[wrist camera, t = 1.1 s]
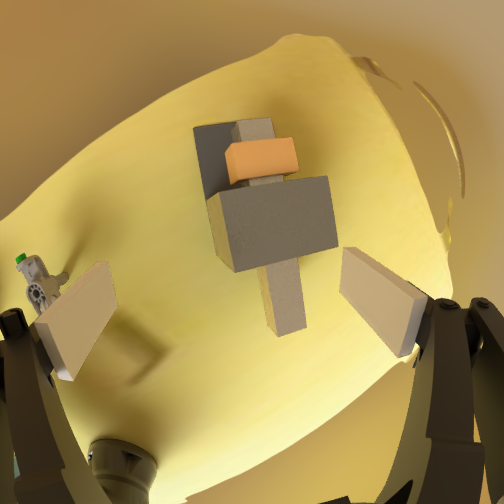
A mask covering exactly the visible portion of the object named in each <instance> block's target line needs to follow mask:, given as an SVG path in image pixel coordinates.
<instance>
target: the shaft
mask: <svg viewBox="0 0 504 504" xmlns="http://www.w3.org/2000/svg"><path fill="white" fill-rule="evenodd" d="M231 134H232V140H233V143H238V142H246V141H255V140H264V139H275V134H274V130H273V125H272V121H271V118H260V119H248V120H238V121H237V122H236V124H235V125H234V127H233V128H232V130H231ZM282 181H284V179H283V174H282V175H275V176H268V177H261V178H255V179H248V180H245V181H243V182H242V183H241V187H242V188H244V187H250V186H256V185H262V184H269V183H275V182H282ZM257 271H258V277H259V282H260V287H261V293H262V298H263V303H264V309H265V314H266V319H267V325H268V327H269V328H270V329H271V330H272V331H273V332H274V333H275V335H276V336H277V337H280V336H283V335H286V334H289V333H292V332H295V331H298V330H301V329H304V328H307V325H306V317H305V309H304V302H303V294H302V287H301V280H300V273H299V267H298V260H297V257H296V258H293V259H289V260H285V261H281V262H277V263H273V264H269V265H265V266H261V267H257Z"/></svg>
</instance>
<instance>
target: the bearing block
mask: <svg viewBox="0 0 504 504" xmlns="http://www.w3.org/2000/svg"><path fill="white" fill-rule="evenodd" d="M206 202H207V209H208V214H209V219H210V224H211V229H212V234H213V239H214V244H215V249H216V254H217V256H218V257H219V258H220V259H221V260H222V261H223V262H224V263H225V264H226V265H227V266H228V267H229V268H230V269H231V270H233V271H234V272H235V273H236V272H241V271H245V270H249V269H253V268H257V267H261V266H265V265H269V264H273V263H277V262H281V261H285V260H289V259H293V258H296V257H300V256H304V255H308V254H312V253H316V252H320V251H324V250H327V249H331V248H335V247H338V239H337V232H336V225H335V218H334V211H333V205H332V199H331V193H330V187H329V182H328V177H327V176H320V177H312V178H304V179H296V180H289V181H282V182H275V183H269V184H262V185H256V186H250V187H244V188H238V189H233V190H227V191H222V192H218V193H217V194H215V195H214V196H212V197H211V198H209V199H208V200H206Z"/></svg>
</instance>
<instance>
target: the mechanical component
mask: <svg viewBox="0 0 504 504" xmlns="http://www.w3.org/2000/svg"><path fill="white" fill-rule="evenodd" d="M16 262H17V264H18V265H17V266H16V268H17V270H18V272H20V271H22V272H23V274H24V276H25V278H26V280H27V282H28V284H29V286H27V289H26V294H27V298H28V300H29V301H30V303H31V304H32V305H33V307H34V309H35V310H36V312H37V314H38V315H39V316H40V315H41V314H42V313H43V312H44V311H45V310H46V309H47V308H48V307H49V306H50V305H51V304H52V303H53V302H54V301H55V300H56V299H57V298H58V297H59V296H60V295H61V294H60V292H59V289H60V286H61V285H63V284H64V283H66V282H67V281H68V279H69V276H68V274H67V273H61V274H59V275H57V276H53V275H49V273H48V271H47V269H46V267H45V265H44V263H43V261H42V260H41V258H40V257H39V256H37V255H33V256H30V257H26V255H25V253H23V254H21V255H20V256H18V257H17V258H16ZM40 308H41V311H42V313H41V311H40Z"/></svg>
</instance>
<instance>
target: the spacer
mask: <svg viewBox="0 0 504 504" xmlns="http://www.w3.org/2000/svg"><path fill="white" fill-rule="evenodd" d="M225 157H226V163H227V168H228V173H229V179H230V184H231V185H233V184H238V183H242V182H243V181H245V180H248V179H255V178H261V177H268V176H275V175H282V174H283V177H284V176H287V175H290V174H293V173H296V172H298V171H299V166H298V161H297V156H296V151H295V146H294V142H293V137H288V138H275V139H264V140H255V141H246V142H238V143H232V144H231V145H230V146H229V148H228V149H227V150H226V152H225Z"/></svg>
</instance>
